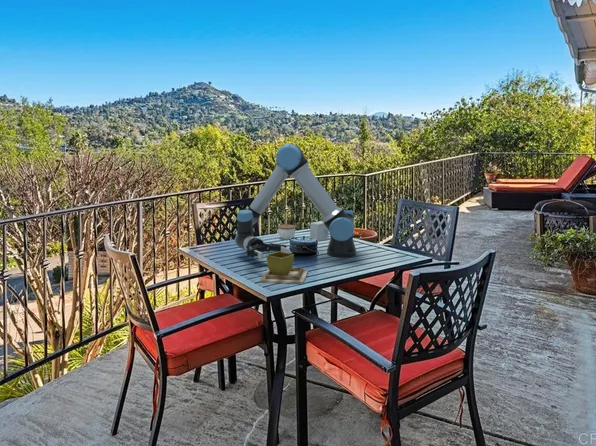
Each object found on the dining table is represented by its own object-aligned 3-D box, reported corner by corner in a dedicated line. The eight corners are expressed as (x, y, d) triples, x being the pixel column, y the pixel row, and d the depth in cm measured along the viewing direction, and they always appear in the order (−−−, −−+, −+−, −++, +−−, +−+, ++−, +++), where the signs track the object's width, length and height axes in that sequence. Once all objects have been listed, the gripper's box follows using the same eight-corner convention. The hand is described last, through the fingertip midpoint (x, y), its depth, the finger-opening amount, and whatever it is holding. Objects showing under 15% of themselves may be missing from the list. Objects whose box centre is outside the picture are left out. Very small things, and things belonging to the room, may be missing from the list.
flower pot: (294, 274, 193) (294, 254, 192) (282, 279, 186) (281, 258, 185) (278, 270, 198) (278, 251, 197) (266, 275, 191) (265, 255, 190)
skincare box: (317, 241, 264) (318, 224, 262) (309, 240, 268) (309, 222, 266) (329, 238, 271) (329, 221, 269) (321, 237, 275) (321, 220, 274)
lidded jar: (293, 240, 266) (293, 225, 265) (276, 240, 268) (275, 224, 267) (297, 237, 276) (297, 222, 275) (280, 236, 279) (280, 221, 277)
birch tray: (308, 272, 200) (308, 266, 200) (302, 284, 182) (302, 278, 182) (268, 270, 203) (268, 265, 202) (259, 282, 185) (259, 276, 185)
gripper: (276, 249, 223) (299, 258, 205) (230, 256, 210) (250, 266, 192) (276, 234, 221) (299, 242, 204) (229, 240, 208) (249, 249, 191)
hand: (275, 254), depth 198 cm, fingers open, 13 cm apart
